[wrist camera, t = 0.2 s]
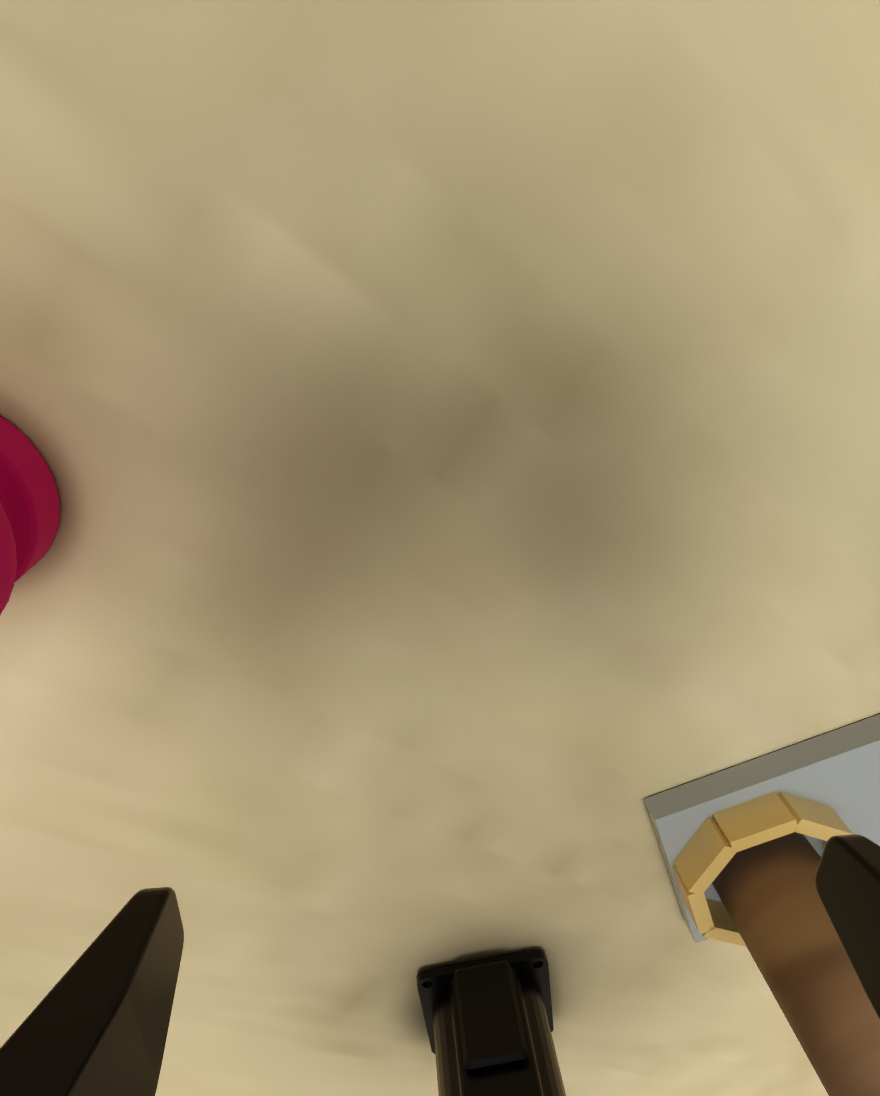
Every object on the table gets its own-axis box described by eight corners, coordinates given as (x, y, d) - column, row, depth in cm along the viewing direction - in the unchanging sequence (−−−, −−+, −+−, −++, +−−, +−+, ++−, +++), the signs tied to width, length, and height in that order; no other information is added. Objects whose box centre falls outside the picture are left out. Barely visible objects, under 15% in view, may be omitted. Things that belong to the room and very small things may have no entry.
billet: (799, 883, 29) (1019, 1199, 19) (704, 900, 29) (875, 1228, 19) (811, 811, 28) (1061, 1121, 18) (709, 829, 27) (903, 1152, 17)
